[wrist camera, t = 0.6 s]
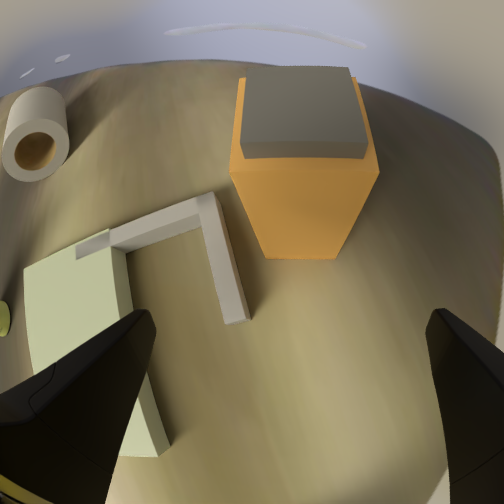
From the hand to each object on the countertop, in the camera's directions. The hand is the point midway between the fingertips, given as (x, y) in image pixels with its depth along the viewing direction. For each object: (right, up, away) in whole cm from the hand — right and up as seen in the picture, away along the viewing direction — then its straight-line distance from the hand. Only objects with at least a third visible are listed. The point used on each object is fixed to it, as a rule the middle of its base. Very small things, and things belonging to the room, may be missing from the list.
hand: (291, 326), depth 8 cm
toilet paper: (-30, +17, +24) cm, 42 cm away
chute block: (+3, +4, +15) cm, 16 cm away
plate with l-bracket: (-13, -6, +14) cm, 20 cm away
